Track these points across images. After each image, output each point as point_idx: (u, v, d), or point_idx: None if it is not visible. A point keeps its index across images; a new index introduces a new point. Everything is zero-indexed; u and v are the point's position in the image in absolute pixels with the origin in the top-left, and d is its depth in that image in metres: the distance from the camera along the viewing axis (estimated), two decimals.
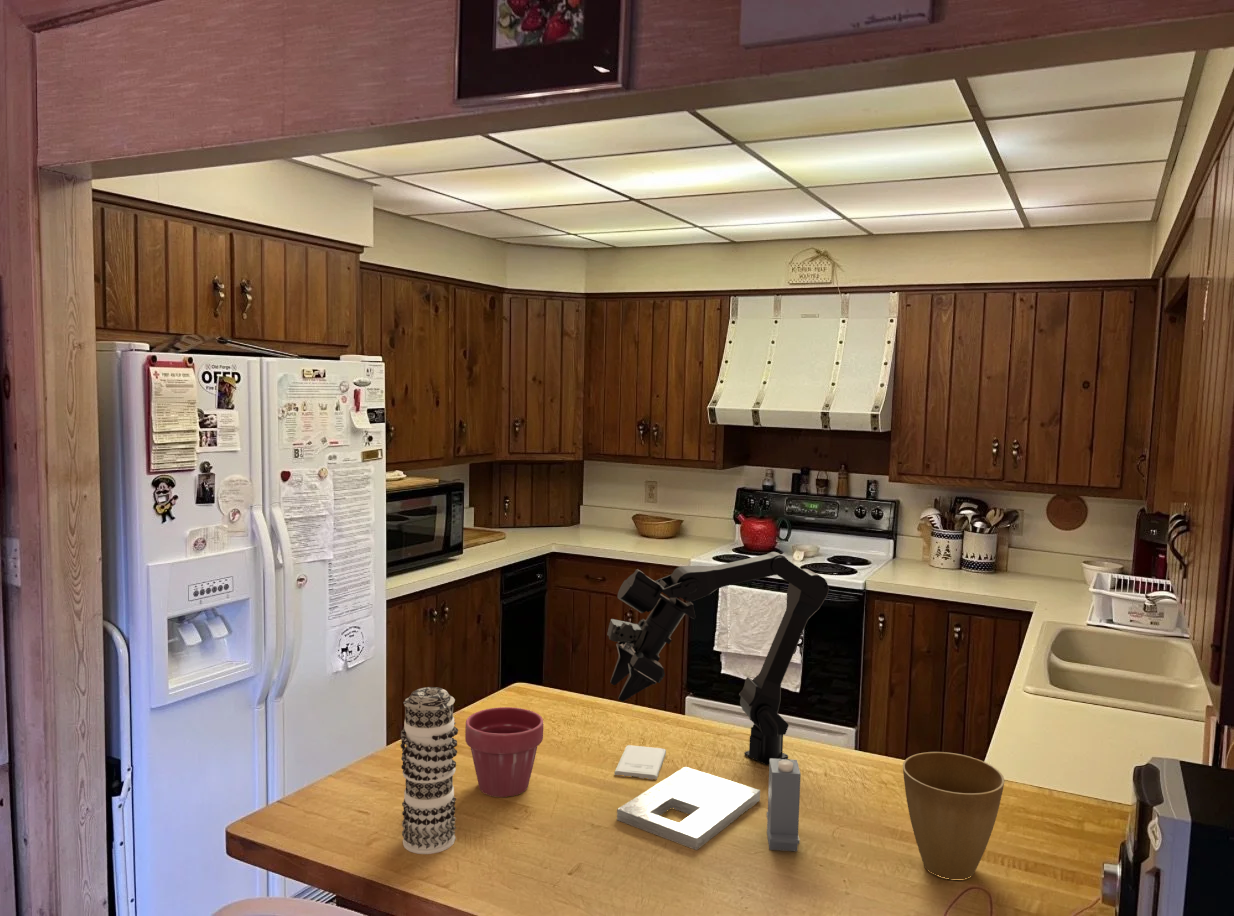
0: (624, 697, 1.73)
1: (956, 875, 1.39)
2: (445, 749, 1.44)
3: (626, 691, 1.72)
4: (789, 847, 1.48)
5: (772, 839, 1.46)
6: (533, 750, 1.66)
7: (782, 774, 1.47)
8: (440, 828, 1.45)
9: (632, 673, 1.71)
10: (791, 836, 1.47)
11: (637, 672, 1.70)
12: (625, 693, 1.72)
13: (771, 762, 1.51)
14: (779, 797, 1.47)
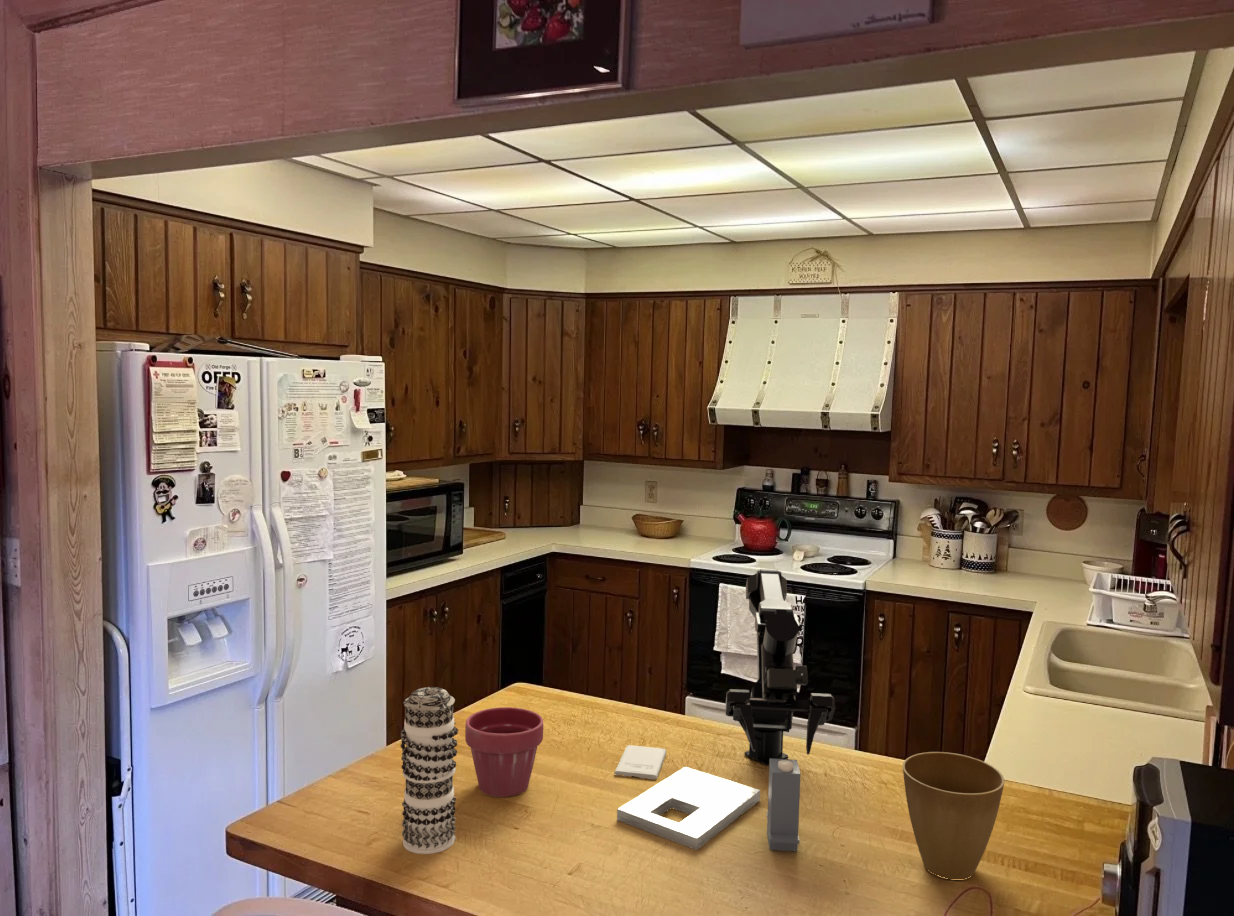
0: None
1: (956, 875, 1.39)
2: (445, 749, 1.44)
3: (812, 740, 1.57)
4: (789, 847, 1.48)
5: (772, 839, 1.46)
6: (533, 750, 1.66)
7: (782, 774, 1.47)
8: (440, 828, 1.45)
9: None
10: (791, 836, 1.47)
11: None
12: None
13: (771, 762, 1.51)
14: (779, 798, 1.47)
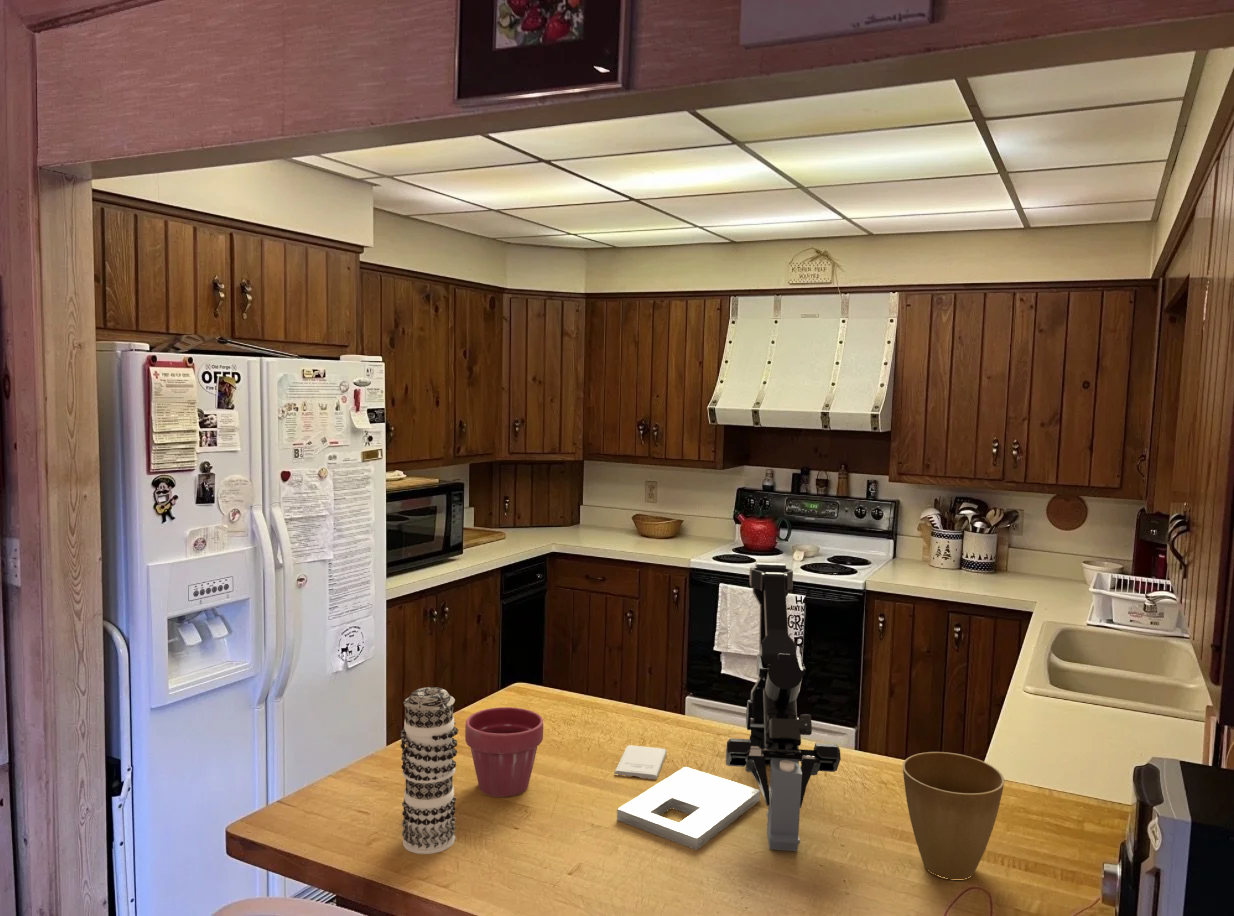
0: None
1: (956, 875, 1.39)
2: (445, 749, 1.44)
3: (804, 793, 1.50)
4: (789, 847, 1.48)
5: (772, 839, 1.46)
6: (533, 750, 1.66)
7: (783, 774, 1.47)
8: (440, 828, 1.45)
9: None
10: (791, 836, 1.47)
11: None
12: None
13: (772, 762, 1.51)
14: (780, 797, 1.47)
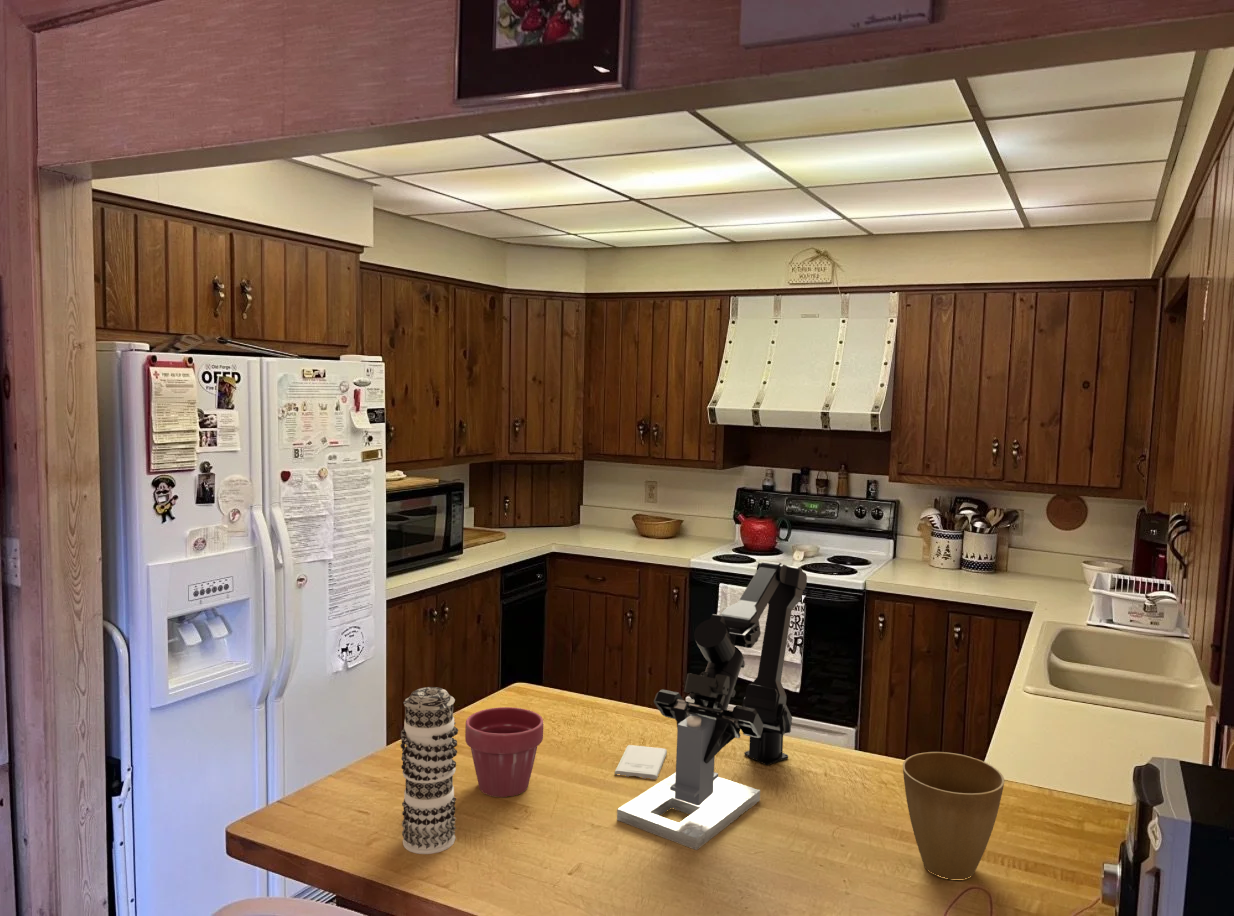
0: (710, 757, 1.52)
1: (956, 875, 1.39)
2: (445, 749, 1.44)
3: (713, 750, 1.52)
4: (691, 800, 1.52)
5: (671, 787, 1.52)
6: (533, 750, 1.66)
7: (686, 728, 1.51)
8: (440, 828, 1.45)
9: None
10: (691, 789, 1.51)
11: (734, 725, 1.53)
12: (712, 753, 1.52)
13: None
14: (683, 750, 1.52)
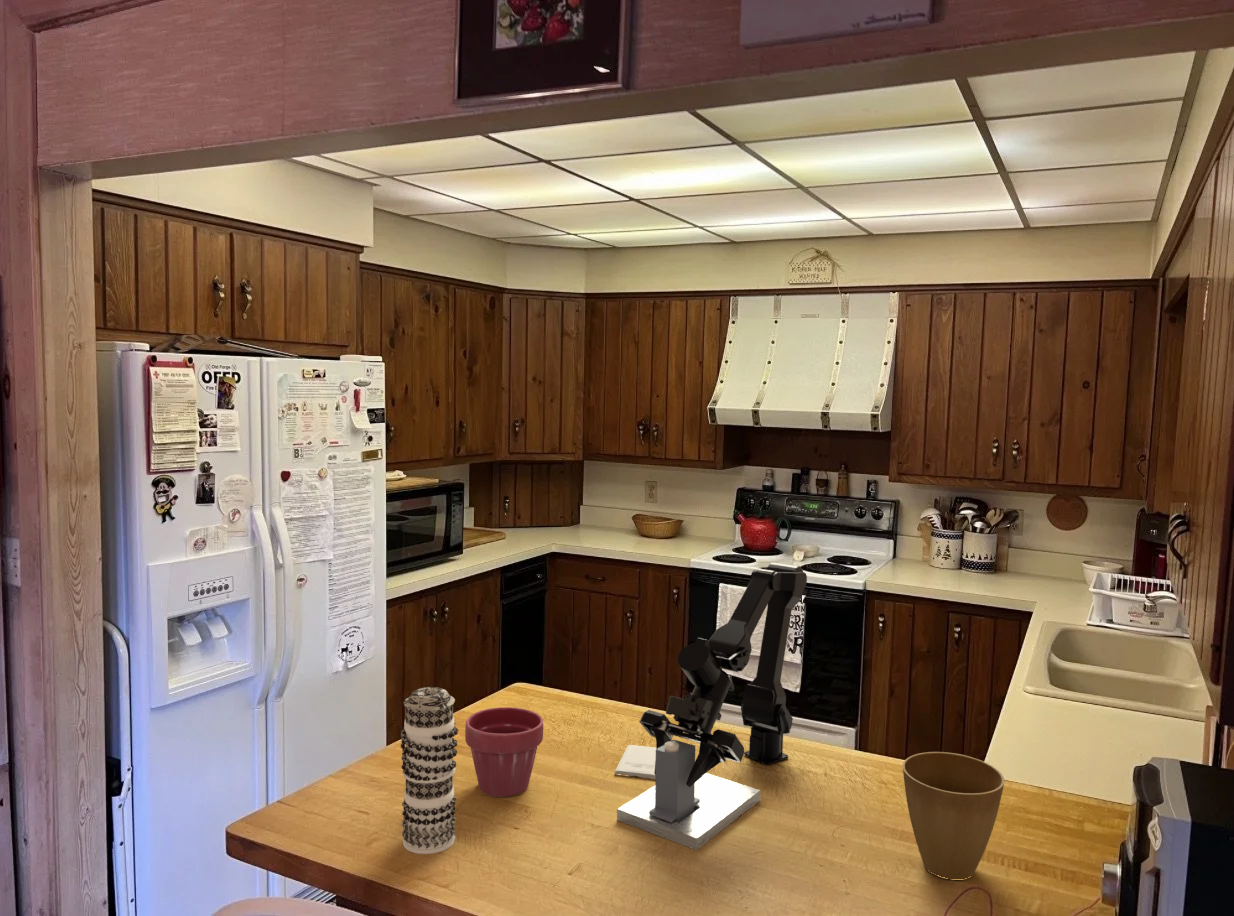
0: (693, 781, 1.54)
1: (956, 875, 1.39)
2: (445, 749, 1.44)
3: (696, 774, 1.54)
4: None
5: (650, 812, 1.54)
6: (533, 750, 1.66)
7: (663, 753, 1.54)
8: (440, 828, 1.45)
9: (708, 752, 1.54)
10: (669, 814, 1.53)
11: (717, 750, 1.54)
12: (695, 776, 1.54)
13: None
14: (661, 775, 1.55)
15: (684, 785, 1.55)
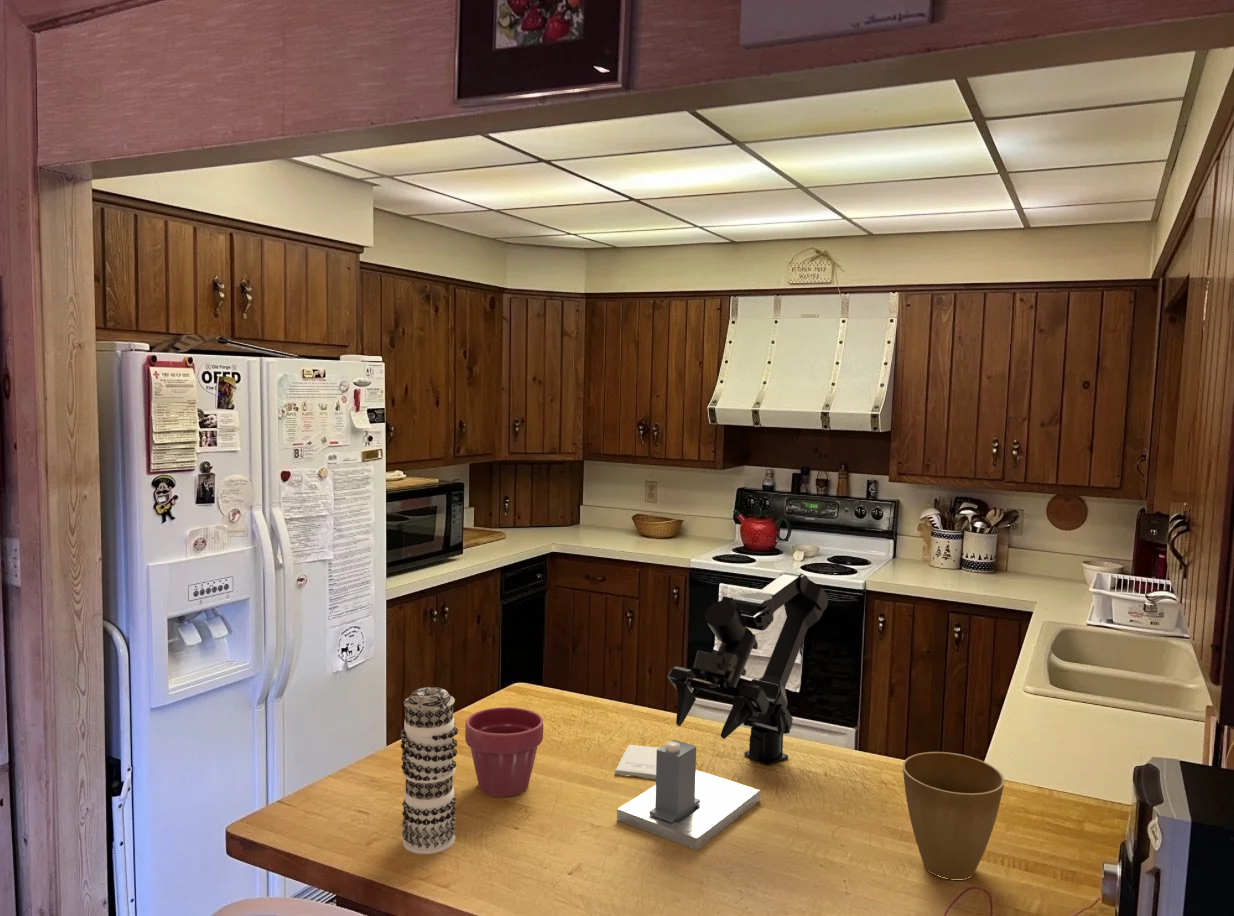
0: (727, 733, 1.59)
1: (956, 875, 1.39)
2: (445, 749, 1.44)
3: (730, 727, 1.60)
4: None
5: (650, 812, 1.54)
6: (533, 750, 1.66)
7: (664, 753, 1.54)
8: (440, 828, 1.45)
9: (741, 706, 1.60)
10: (669, 814, 1.53)
11: (750, 704, 1.60)
12: (729, 729, 1.59)
13: None
14: (662, 775, 1.55)
15: (685, 785, 1.55)
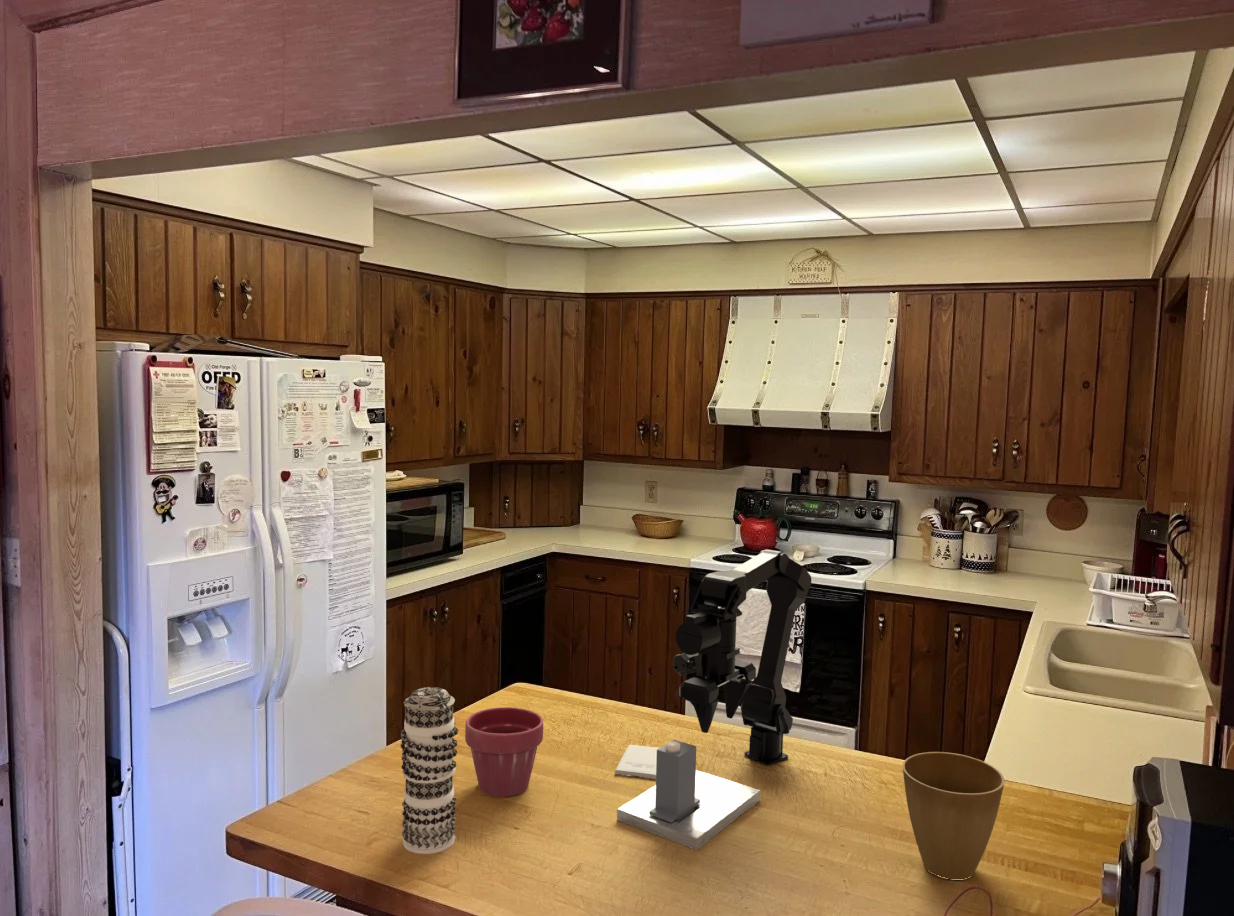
0: (704, 727, 1.65)
1: (956, 875, 1.39)
2: (445, 749, 1.44)
3: (701, 721, 1.65)
4: None
5: (650, 812, 1.54)
6: (533, 750, 1.66)
7: (664, 753, 1.54)
8: (440, 828, 1.45)
9: (691, 701, 1.64)
10: (669, 814, 1.53)
11: (689, 699, 1.63)
12: (702, 724, 1.65)
13: None
14: (662, 775, 1.55)
15: (685, 785, 1.55)
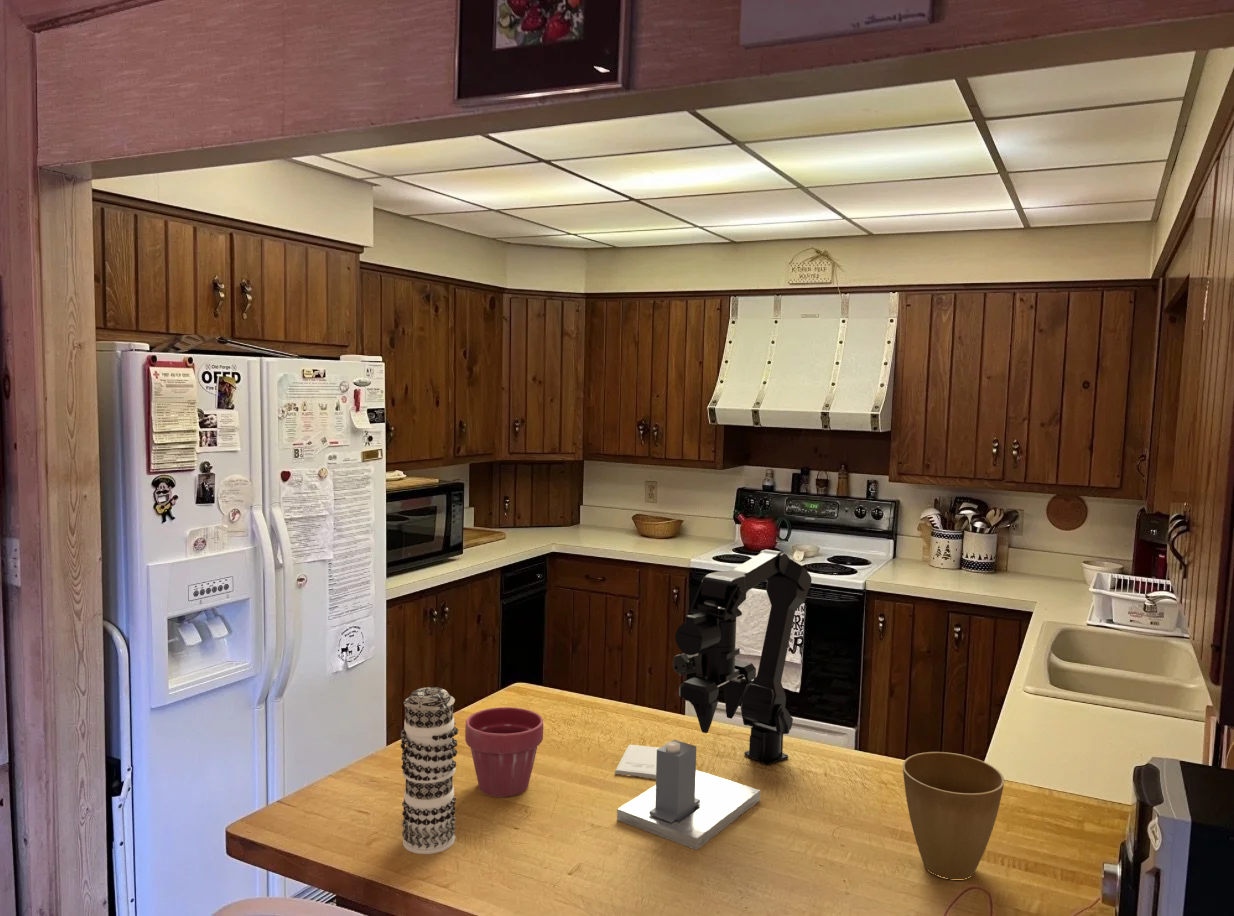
0: (704, 727, 1.65)
1: (956, 875, 1.39)
2: (445, 749, 1.44)
3: (701, 721, 1.65)
4: None
5: (650, 812, 1.54)
6: (533, 750, 1.66)
7: (664, 753, 1.54)
8: (440, 828, 1.45)
9: (691, 702, 1.64)
10: (669, 814, 1.53)
11: (689, 699, 1.63)
12: (702, 724, 1.65)
13: None
14: (662, 775, 1.55)
15: (685, 785, 1.55)
